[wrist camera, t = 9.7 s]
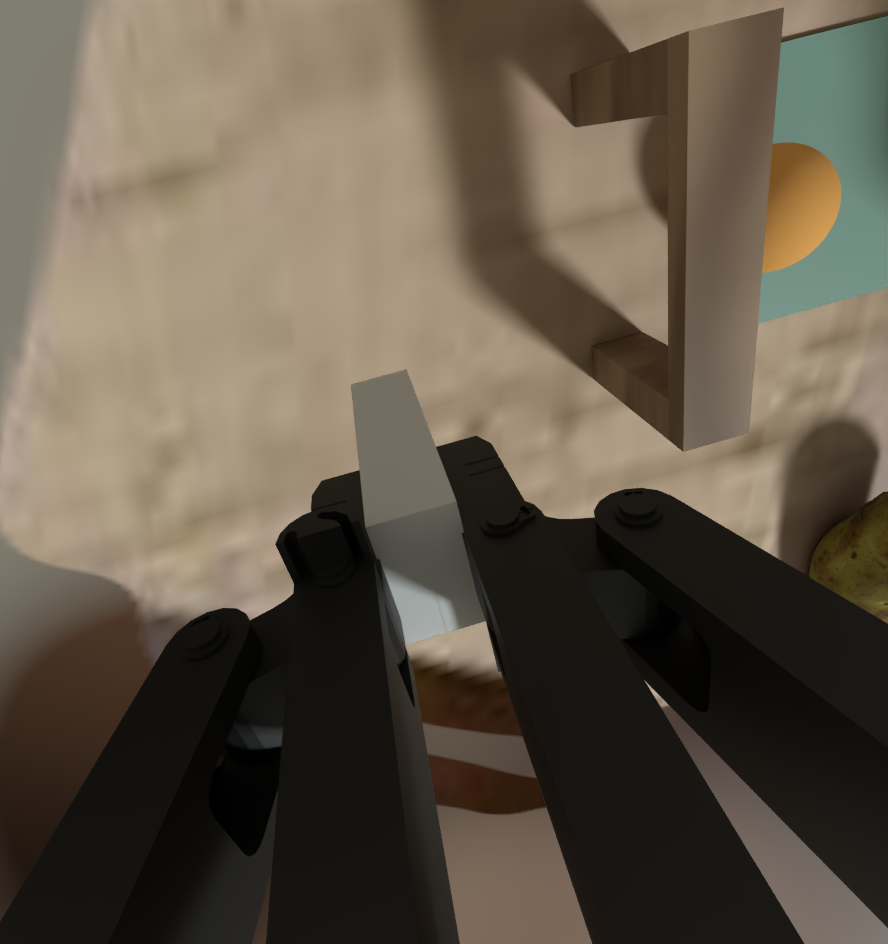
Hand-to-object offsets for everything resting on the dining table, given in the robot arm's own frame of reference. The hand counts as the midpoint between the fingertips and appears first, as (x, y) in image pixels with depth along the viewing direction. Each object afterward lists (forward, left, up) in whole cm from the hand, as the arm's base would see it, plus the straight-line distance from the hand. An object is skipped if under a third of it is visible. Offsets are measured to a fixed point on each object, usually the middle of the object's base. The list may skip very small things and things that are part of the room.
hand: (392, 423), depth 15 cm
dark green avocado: (-30, +25, -15) cm, 42 cm away
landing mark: (-27, 0, -14) cm, 31 cm away
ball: (-19, 0, -12) cm, 23 cm away
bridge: (-13, 0, -14) cm, 19 cm away
